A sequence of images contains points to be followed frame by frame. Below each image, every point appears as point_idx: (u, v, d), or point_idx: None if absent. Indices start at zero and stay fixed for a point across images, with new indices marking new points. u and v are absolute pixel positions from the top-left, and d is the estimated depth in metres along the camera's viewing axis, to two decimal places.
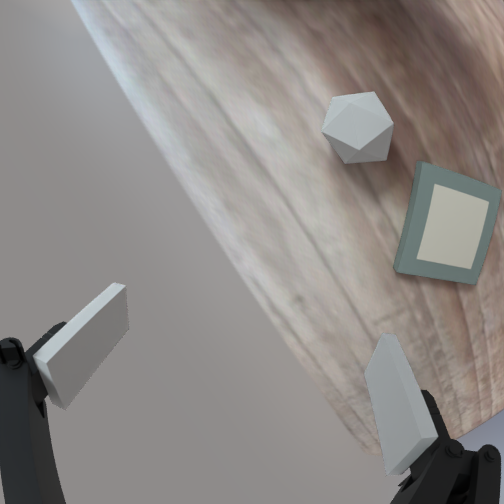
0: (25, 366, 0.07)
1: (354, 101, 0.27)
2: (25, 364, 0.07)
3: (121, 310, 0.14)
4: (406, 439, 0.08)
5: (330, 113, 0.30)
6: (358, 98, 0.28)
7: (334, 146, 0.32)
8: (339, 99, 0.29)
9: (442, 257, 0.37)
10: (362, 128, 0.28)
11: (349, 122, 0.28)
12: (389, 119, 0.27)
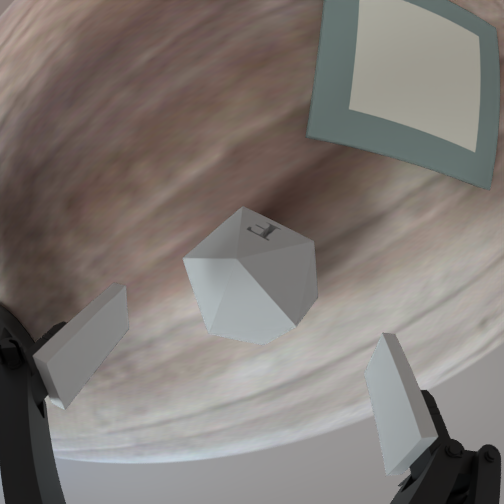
0: (25, 366, 0.07)
1: (205, 321, 0.18)
2: (25, 364, 0.07)
3: (121, 310, 0.14)
4: (406, 439, 0.08)
5: None
6: (199, 306, 0.18)
7: None
8: None
9: (471, 95, 0.15)
10: (254, 318, 0.17)
11: (245, 333, 0.17)
12: (229, 264, 0.16)
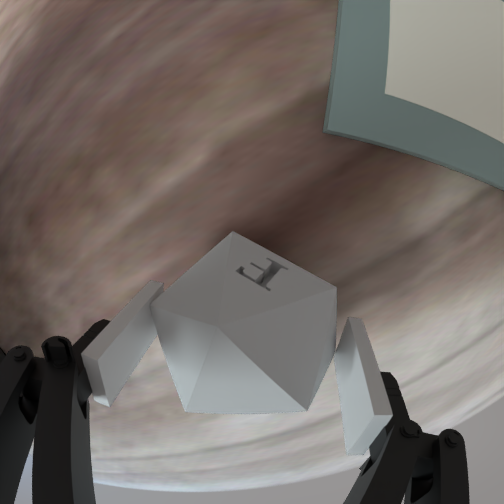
0: (72, 366, 0.08)
1: (180, 396, 0.12)
2: (73, 364, 0.08)
3: None
4: (362, 417, 0.09)
5: None
6: None
7: None
8: None
9: None
10: (247, 401, 0.11)
11: None
12: (207, 331, 0.10)
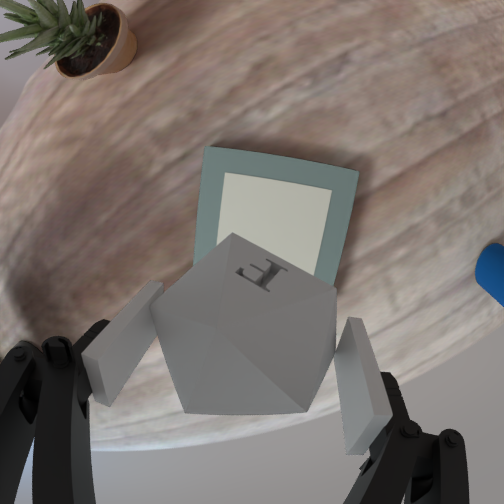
0: (73, 366, 0.08)
1: (180, 397, 0.12)
2: (73, 364, 0.08)
3: None
4: (362, 417, 0.09)
5: None
6: None
7: None
8: None
9: (311, 247, 0.31)
10: (247, 402, 0.11)
11: None
12: (207, 333, 0.10)
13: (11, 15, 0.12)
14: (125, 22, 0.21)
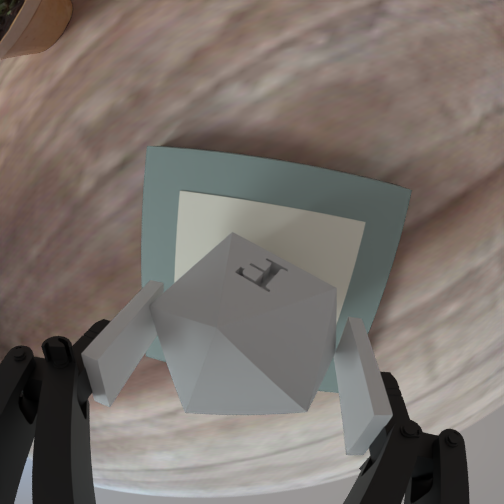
0: (73, 366, 0.08)
1: (180, 397, 0.12)
2: (73, 364, 0.08)
3: None
4: (362, 417, 0.09)
5: None
6: None
7: None
8: None
9: None
10: (247, 402, 0.11)
11: None
12: (207, 332, 0.10)
13: None
14: None
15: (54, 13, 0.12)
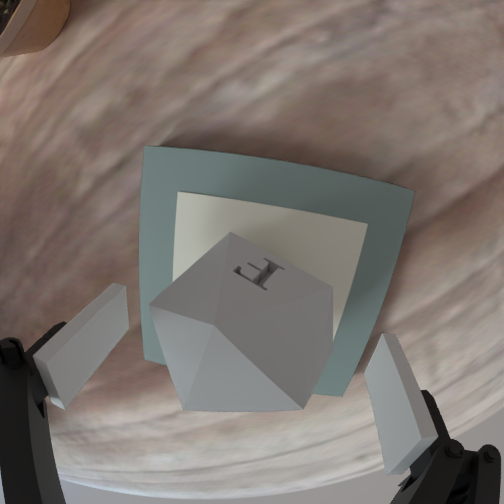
0: (25, 366, 0.07)
1: (178, 394, 0.12)
2: (25, 364, 0.07)
3: (121, 310, 0.14)
4: (406, 439, 0.08)
5: None
6: None
7: None
8: None
9: None
10: (244, 399, 0.11)
11: None
12: (204, 330, 0.10)
13: None
14: None
15: (51, 12, 0.12)
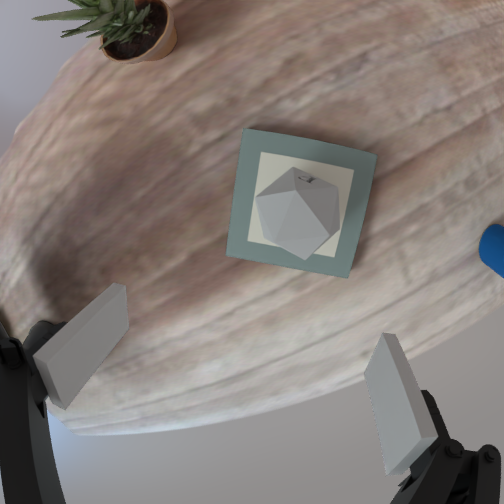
0: (25, 366, 0.07)
1: (272, 234, 0.28)
2: (25, 364, 0.07)
3: (121, 310, 0.14)
4: (406, 439, 0.08)
5: None
6: (267, 225, 0.29)
7: (321, 245, 0.31)
8: (268, 239, 0.31)
9: None
10: (304, 229, 0.27)
11: (297, 242, 0.28)
12: (291, 194, 0.26)
13: None
14: (172, 15, 0.24)
15: (172, 38, 0.28)
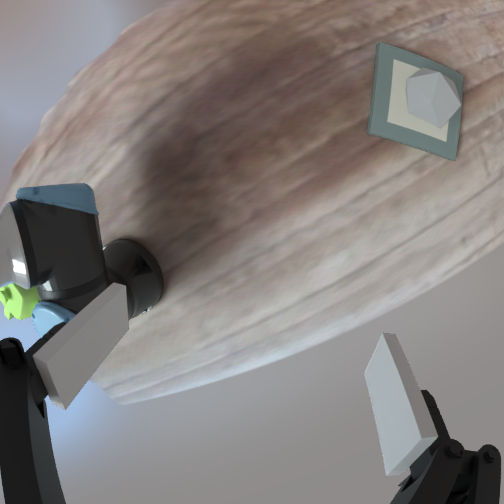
0: (25, 366, 0.07)
1: (427, 99, 0.29)
2: (25, 364, 0.07)
3: (121, 310, 0.14)
4: (406, 439, 0.08)
5: (427, 118, 0.32)
6: (421, 94, 0.30)
7: None
8: (417, 108, 0.32)
9: None
10: (447, 98, 0.28)
11: (443, 106, 0.29)
12: (436, 74, 0.27)
13: None
14: None
15: None
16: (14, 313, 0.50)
